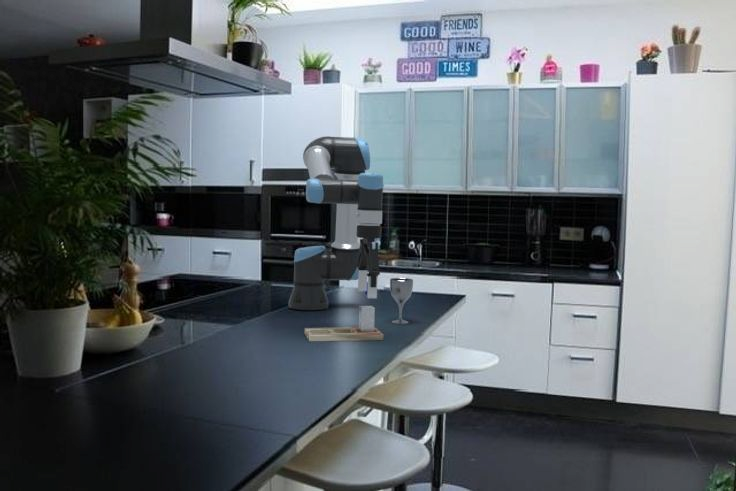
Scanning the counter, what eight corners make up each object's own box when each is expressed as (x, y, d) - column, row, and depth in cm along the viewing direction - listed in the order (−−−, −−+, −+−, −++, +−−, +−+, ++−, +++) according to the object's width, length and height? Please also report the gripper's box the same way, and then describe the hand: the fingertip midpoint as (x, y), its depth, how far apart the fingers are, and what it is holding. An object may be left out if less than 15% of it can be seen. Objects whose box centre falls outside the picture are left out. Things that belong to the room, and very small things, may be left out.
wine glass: (414, 321, 217) (415, 278, 216) (408, 325, 210) (409, 281, 209) (392, 319, 220) (393, 277, 219) (385, 323, 212) (387, 279, 211)
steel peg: (358, 335, 191) (359, 305, 191) (371, 334, 192) (371, 305, 191) (361, 337, 187) (361, 307, 187) (373, 337, 188) (374, 307, 187)
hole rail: (304, 333, 191) (304, 327, 191) (374, 332, 196) (374, 326, 196) (309, 341, 180) (309, 335, 180) (383, 340, 184) (383, 333, 184)
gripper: (349, 222, 199) (347, 288, 201) (366, 226, 175) (363, 301, 176) (372, 223, 201) (370, 288, 202) (391, 227, 176) (389, 301, 178)
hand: (367, 294), depth 189 cm, fingers open, 13 cm apart
